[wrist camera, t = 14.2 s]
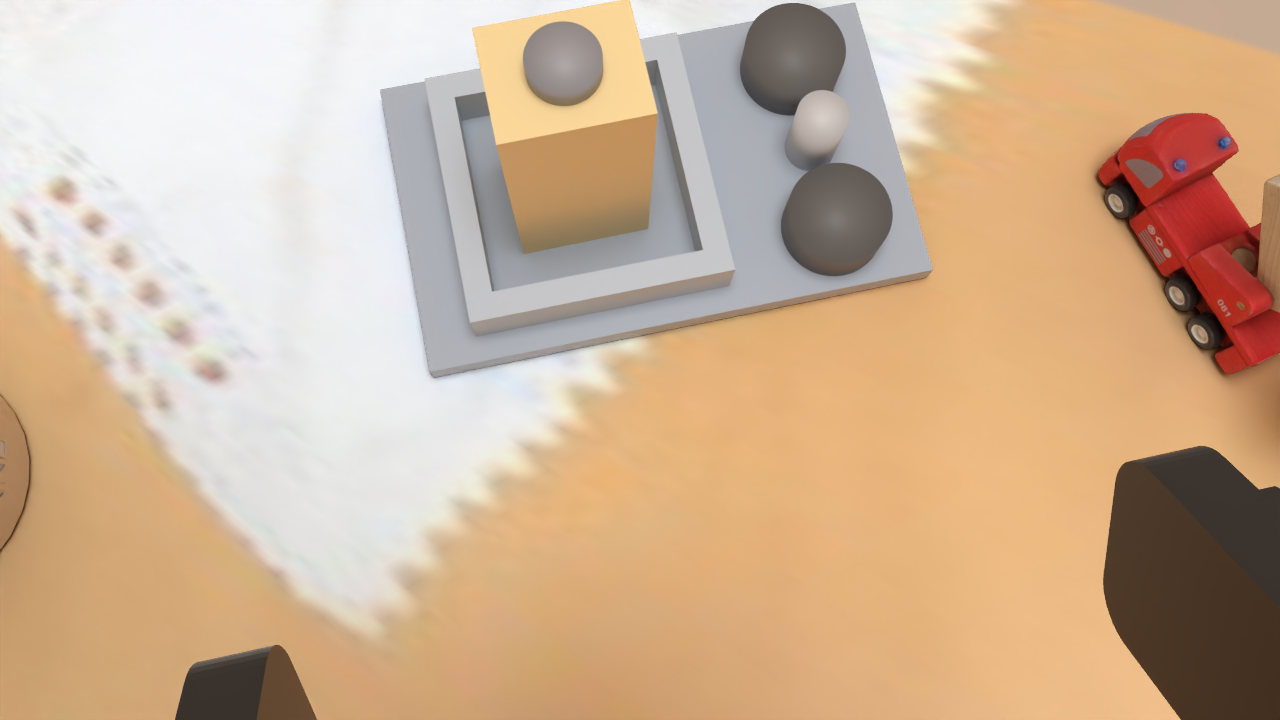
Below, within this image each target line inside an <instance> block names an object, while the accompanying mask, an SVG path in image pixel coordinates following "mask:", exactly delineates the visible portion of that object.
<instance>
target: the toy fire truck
mask: <svg viewBox="0 0 1280 720" xmlns="http://www.w3.org/2000/svg"><path fill="white" fill-rule="evenodd" d="M1237 152H1238V146H1237V144H1236V142H1235V141H1234V139H1233V138H1232V137H1231V135H1230V134H1229V132H1228V131H1227V130H1226V128H1225V127H1224V125H1223V124H1222V123H1221V122H1220V121H1219V120H1218V119H1217V118H1215V117H1213V116H1210V115H1208V114H1202V113H1184V114H1176V115H1171V116H1167V117H1164V118H1161V119H1158V120H1155V121H1153V122H1151V123H1149V124H1147V125H1146V126H1144V127H1142V128H1141V129H1139V130H1138V131H1137V132H1136V133H1134V134H1133V135H1132V136H1131V137H1130V138H1129V139H1128V140H1127V141H1126V142H1125V144H1124V145H1123V146H1122V147H1121V148H1120V149H1118V150H1117V151H1116V152H1115V153H1114V154H1113V155H1112V156H1111V157H1110V158H1109V159H1108V160H1107V161H1106V162H1105V163H1104V164H1103V166H1102V167H1101V168H1100V170H1099V178H1100V180H1101V181H1102V183H1103V184H1104V185H1107V186H1110V188H1109V189H1108V190H1107V191H1106V194H1105V202H1106V205H1107V207H1108V209H1109V210H1110V212H1111V213H1113V214H1114V215H1115V216H1116V217H1119V218H1127V217H1130V219H1129V221H1130V226H1131V228H1132V229H1133V230H1134V232H1135V234H1136V235H1137V237H1138V239H1139V240H1140V242H1141V243H1142V245H1143V246H1144V248H1145V249H1146V251H1147V252H1148V253H1149V255H1150V256H1151V259H1152V260H1153V261H1154V263H1155V264H1156V266H1157V268H1158V269H1159V270H1160V273H1161V274H1162V275H1163V276H1165V277H1168V278H1170V280H1169V281H1168V282H1167V284H1166V287H1165V292H1166V295H1167V298H1168V300H1169V302H1170V303H1171V304H1172V305H1173V306H1174V307H1175V308H1176V309H1178V310H1181V311H1188V310H1193V309H1194V307H1195V306H1196V307H1197V308H1198V310H1199V312H1200V313H1201V314H1199V315H1196V316H1194V317H1193V318H1191V319H1190V320H1189V323H1188V332H1189V335H1190V336H1191V338H1192V340H1193V341H1194V342H1195V343H1196V344H1197V345H1199V346H1200V347H1202V348H1205V349H1211V348H1214V347H1217V346H1220V345H1221V347H1222V349H1221V350H1220V351H1218V352H1217V353H1216V354H1215V358H1216V360H1217V361H1218V363H1219V365H1220V367H1221V368H1222V370H1223V371H1224V372H1225V373H1227V374H1232V373H1235V372H1238V371H1240V370H1243V369H1245V368H1248V367H1251V366H1255V365H1258V364H1259V363H1261V362H1263V361H1265V360H1267V359H1268V358H1270V357H1273V356H1274V355H1276V354H1278V353H1280V174H1279V175H1277V176H1275V177H1273V178H1271V179H1268V180H1267V181H1266V182H1265V184H1264V195H1263V208H1262V221H1261V223H1259V224H1258V225H1256V226H1254V227H1251V228H1250V227H1249V226H1248V224H1247V223H1246V221H1245V220H1244V219H1243V217H1242V216H1241V214H1240V213H1239V211H1238V210H1237V208H1236V207H1235V205H1234V204H1233V202H1232V201H1231V200H1230V198H1229V197H1228V195H1227V193H1226V192H1225V191H1224V189H1223V188H1222V186H1221V185H1220V183H1219V182H1218V180H1217V179H1216V178H1215V176H1214V175H1213V174H1212V172H1213V171H1215V170H1216V169H1217V168H1218V167H1220V166H1221V165H1222V164H1223V163H1225V161H1226V160H1228V159H1229V158H1231V157H1232V156H1233V155H1235V154H1236V153H1237Z"/></svg>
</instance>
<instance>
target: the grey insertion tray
mask: <svg viewBox="0 0 1280 720" xmlns="http://www.w3.org/2000/svg"><path fill="white" fill-rule="evenodd" d="M640 43H641V47H642V51H643V55H644V59H645V63H646V68H647V72H648V76H649V80H650V84H651V88H652V92H653V96H654V100H655V104H656V108H657V112H658V117H657V129H656V141H655V153H654V165H653V177H652V190H651V202H650V214H649V226H648V229H645V230H640V231H635V232H630V233H625V234H620V235H615V236H611V237H606V238H601V239H596V240H591V241H586V242H581V243H576V244H571V245H566V246H561V247H556V248H552V249H547V250H542V251H537V252H532V253H527V254H524V253H523V249H522V245H521V241H520V237H519V233H518V229H517V225H516V221H515V217H514V213H513V209H512V205H511V201H510V197H509V193H508V189H507V186H506V182H505V178H504V174H503V170H502V166H501V162H500V158H499V154H498V150H497V146H496V141H495V136H494V132H493V127H492V122H491V117H490V112H489V107H488V103H487V98H486V93H485V88H484V83H483V79H482V74H481V69H475V70H470V71H464V72H459V73H453V74H448V75H442V76H437V77H432V78H426V79H425V82H420V83H414V84H409V85H403V86H398V87H392V88H387V89H382V90H380V92H381V98H382V104H383V109H384V115H385V121H386V127H387V132H388V138H389V144H390V149H391V155H392V161H393V167H394V172H395V178H396V184H397V189H398V195H399V201H400V206H401V212H402V218H403V224H404V229H405V235H406V241H407V246H408V252H409V258H410V263H411V269H412V275H413V281H414V286H415V292H416V298H417V303H418V309H419V315H420V321H421V326H422V332H423V338H424V343H425V349H426V355H427V360H428V366H429V372H430V373H431V375H432V376H433V377H434V378H435V377H440V376H445V375H449V374H454V373H459V372H464V371H469V370H474V369H479V368H484V367H489V366H494V365H499V364H504V363H508V362H513V361H518V360H523V359H528V358H533V357H538V356H543V355H548V354H553V353H558V352H563V351H568V350H572V349H577V348H582V347H587V346H592V345H597V344H602V343H607V342H612V341H617V340H622V339H627V338H631V337H636V336H641V335H646V334H651V333H656V332H661V331H666V330H671V329H676V328H681V327H686V326H691V325H695V324H700V323H705V322H710V321H715V320H720V319H725V318H730V317H735V316H740V315H745V314H750V313H754V312H759V311H764V310H769V309H774V308H779V307H784V306H789V305H794V304H799V303H804V302H809V301H814V300H818V299H823V298H828V297H833V296H838V295H843V294H848V293H853V292H858V291H863V290H868V289H873V288H877V287H882V286H887V285H892V284H897V283H902V282H907V281H912V280H917V279H922V278H926V277H927V276H928V275H929V274H930V273H931V271H932V270H933V268H932V265H931V262H930V258H929V255H928V251H927V248H926V244H925V241H924V237H923V234H922V231H921V227H920V224H919V220H918V217H917V213H916V210H915V207H914V203H913V200H912V196H911V193H910V189H909V186H908V183H907V179H906V176H905V172H904V169H903V165H902V162H901V159H900V155H899V152H898V148H897V145H896V141H895V138H894V135H893V131H892V128H891V124H890V121H889V117H888V114H887V111H886V107H885V104H884V100H883V97H882V93H881V90H880V87H879V83H878V80H877V76H876V73H875V69H874V66H873V63H872V59H871V56H870V52H869V49H868V45H867V42H866V39H865V35H864V32H863V28H862V25H861V21H860V18H859V15H858V11H857V8H856V4H855V3H850V4H844V5H839V6H833V7H828V8H822V9H817V8H815V7H812V6H810V5H806V4H800V3H787V4H781V5H777V6H774V7H772V8H770V9H768V10H766V11H765V12H763V13H762V14H761V15H759V16H758V17H757V18H756V19H755V21H752V22H746V23H741V24H735V25H730V26H724V27H719V28H713V29H708V30H703V31H697V32H692V33H686V34H681V35H677V33H671V34H666V35H660V36H655V37H649V38H644V39H640Z"/></svg>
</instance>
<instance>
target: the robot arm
mask: <svg viewBox="0 0 1280 720" xmlns="http://www.w3.org/2000/svg"><path fill="white" fill-rule="evenodd" d="M28 485H29V455H28V450H27V445H26V440H25V435H24V432H23V430H22V428H21V426H20V424H19V422H18V420H17V417H16V415H15V413H14V412H13V410H12V409H11V408H10V407H9V405H8V404H7V403H6V402H5V400H4V399H3V398H2V397H1V395H0V549H1V548H2V547H3V545H4V544H5V542H6V541H7V540H8V538H9V537H10V535H11V534H12V532H13V529H14V527H15V525H16V523H17V521H18V519H19V516H20V514H21V512H22V510H23V506H24V502H25V497H26V493H27V489H28ZM1103 585H1104V594H1105V600H1106V604H1107V608H1108V611H1109V614H1110V617H1111V619H1112V622H1113V624H1114V626H1115V628H1116V631H1117V632H1118V634H1119V636H1120V638H1121V639H1122V641H1123V642H1124V644H1125V645H1126V647H1127V648H1128V649H1129V651H1130V652H1131V653H1132V655H1133V656H1134V657H1135V659H1136V660H1137V661H1138V663H1139V664H1140V665H1141V667H1142V668H1143V669H1144V671H1145V672H1146V673H1147V675H1148V676H1149V677H1150V679H1151V680H1152V681H1153V683H1154V684H1155V685H1156V687H1157V688H1158V689H1159V691H1160V692H1161V693H1162V695H1163V696H1164V698H1165V699H1166V700H1167V702H1168V703H1169V704H1170V706H1171V707H1172V708H1173V710H1174V711H1175V712H1176V714H1177V715H1178V716H1179V718H1180V719H1181V720H1280V488H1278V487H1276V486H1274V487H1269V488H1265V489H1260V490H1259V489H1258V488H1257V487H1255V486H1254V485H1253V484H1252V483H1251V482H1250V481H1249V480H1248V479H1247V478H1246V477H1245V476H1244V475H1243V474H1242V473H1241V472H1239V471H1238V470H1237V469H1236V468H1235V467H1234V466H1233V465H1232V464H1231V463H1230V462H1229V461H1228V460H1227V459H1226V458H1225V457H1223V456H1222V455H1221V454H1220V453H1219V452H1217V451H1216V450H1214V449H1212V448H1210V447H1206V446H1197V447H1193V448H1188V449H1184V450H1179V451H1175V452H1170V453H1165V454H1161V455H1156V456H1152V457H1147V458H1143V459H1138V460H1133V461H1129V462H1126V463H1124V464H1123V465H1122V466H1121V468H1120V469H1119V471H1118V473H1117V477H1116V482H1115V489H1114V497H1113V505H1112V513H1111V521H1110V529H1109V537H1108V545H1107V552H1106V560H1105V568H1104V578H1103ZM175 720H317V719H316V716H315V714H314V712H313V710H312V707H311V705H310V703H309V701H308V698H307V696H306V694H305V691H304V689H303V687H302V685H301V682H300V680H299V678H298V676H297V673H296V671H295V669H294V666H293V664H292V662H291V660H290V658H289V656H288V654H287V652H286V651H285V650H284V649H283V648H282V647H281V646H279V645H274V646H270V647H265V648H261V649H256V650H252V651H247V652H242V653H238V654H233V655H229V656H224V657H220V658H215V659H210V660H206V661H201V662H197V663H195V664H193V665H192V667H191V668H190V669H189V671H188V673H187V676H186V679H185V682H184V686H183V690H182V694H181V698H180V702H179V706H178V710H177V714H176V718H175Z"/></svg>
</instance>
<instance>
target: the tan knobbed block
mask: <svg viewBox="0 0 1280 720" xmlns="http://www.w3.org/2000/svg"><path fill="white" fill-rule="evenodd" d="M472 30H473V35H474V40H475V45H476V50H477V55H478V59H479V64H480V69H481V74H482V79H483V83H484V88H485V93H486V98H487V103H488V107H489V112H490V117H491V122H492V127H493V132H494V136H495V141H496V146H497V150H498V154H499V158H500V162H501V166H502V170H503V174H504V178H505V182H506V186H507V189H508V193H509V197H510V201H511V205H512V209H513V213H514V217H515V221H516V225H517V229H518V233H519V237H520V241H521V245H522V249H523V253H524V254H527V253H532V252H537V251H542V250H547V249H552V248H556V247H561V246H566V245H571V244H576V243H581V242H586V241H591V240H596V239H601V238H606V237H611V236H615V235H620V234H625V233H630V232H635V231H640V230H645V229H648V226H649V214H650V202H651V190H652V177H653V165H654V153H655V141H656V129H657V117H658V112H657V108H656V104H655V100H654V96H653V92H652V88H651V84H650V80H649V76H648V72H647V68H646V63H645V59H644V55H643V51H642V47H641V43H640V39H639V35H638V31H637V27H636V23H635V19H634V15H633V11H632V7H631V3H630V0H619V1H614V2H609V3H603V4H598V5H593V6H587V7H582V8H577V9H571V10H566V11H561V12H555V13H550V14H545V15H539V16H534V17H529V18H523V19H518V20H513V21H507V22H502V23H497V24H491V25H486V26H481V27H475V28H472Z"/></svg>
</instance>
